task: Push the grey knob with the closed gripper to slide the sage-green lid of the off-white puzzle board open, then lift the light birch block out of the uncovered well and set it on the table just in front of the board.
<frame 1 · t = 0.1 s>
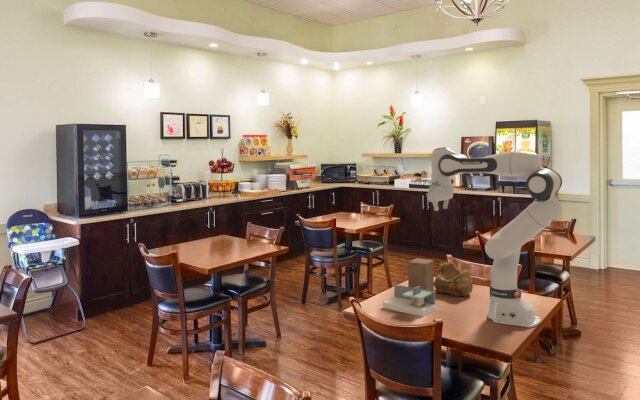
hand: (440, 209, 239), 48 cm above the table, tool pointing down, fingers open, 8 cm apart
wooden block: (421, 299, 256), on the table
slide lid: (417, 291, 235), point 10 cm above the table, slide at 0.0 cm
rough brown rock: (449, 292, 265), on the table
birch block: (417, 310, 237), resting in puzzle board
puzzle board: (408, 308, 240), on the table
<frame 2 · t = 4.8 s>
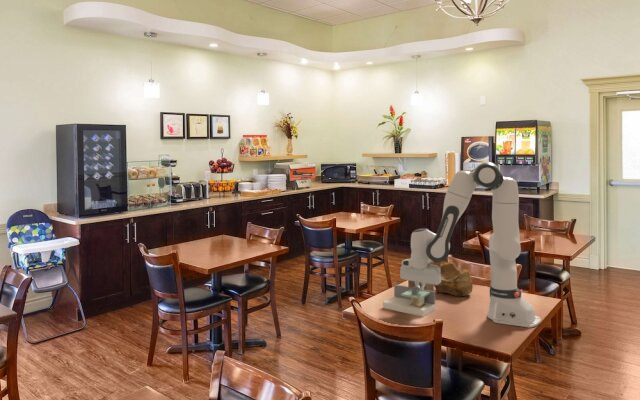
hand: (420, 290, 235), 10 cm above the table, tool pointing down, fingers closed
slide lid: (415, 290, 236), point 10 cm above the table, slide at 0.8 cm, touching gripper
everything else where it was.
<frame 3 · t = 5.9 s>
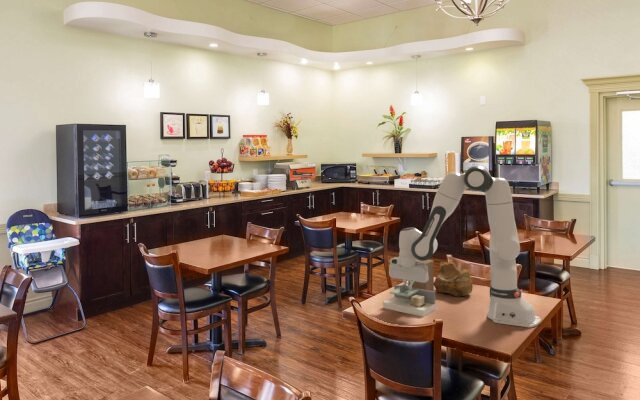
hand: (408, 288, 239), 10 cm above the table, tool pointing down, fingers closed
slide lid: (404, 288, 240), point 10 cm above the table, slide at 7.1 cm, touching gripper
everything else where it was.
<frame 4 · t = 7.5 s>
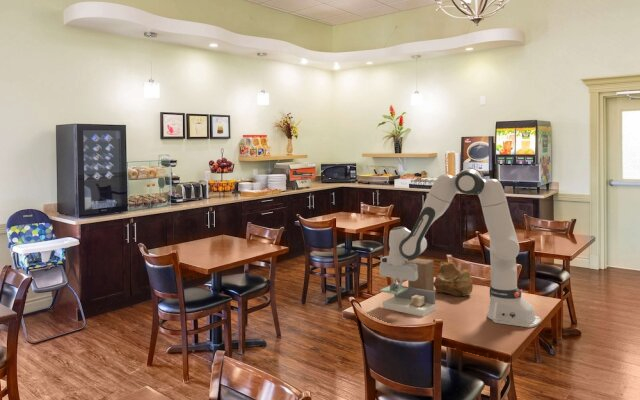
hand: (398, 287, 242), 10 cm above the table, tool pointing down, fingers closed
slide lid: (393, 286, 243), point 10 cm above the table, slide at 12.8 cm, touching gripper
everything else where it was.
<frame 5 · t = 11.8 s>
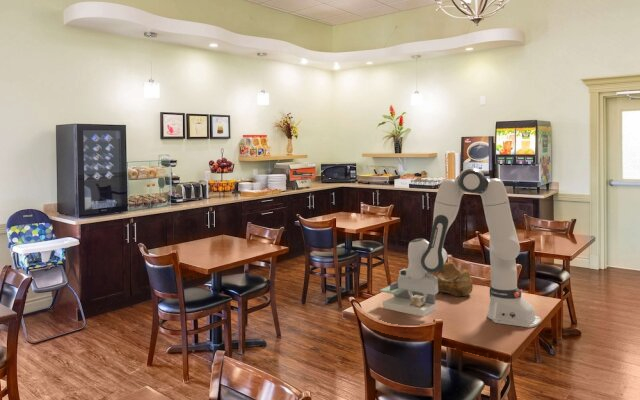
hand: (417, 300, 236), 5 cm above the table, tool pointing down, fingers closed on birch block, 4 cm apart
slide lid: (393, 286, 243), point 10 cm above the table, slide at 12.8 cm
birch block: (417, 310, 237), resting in puzzle board, touching gripper
everything else where it was.
when the fingers open (7 cm above the table, at t = 18.2 s): birch block drops 2 cm, on the table.
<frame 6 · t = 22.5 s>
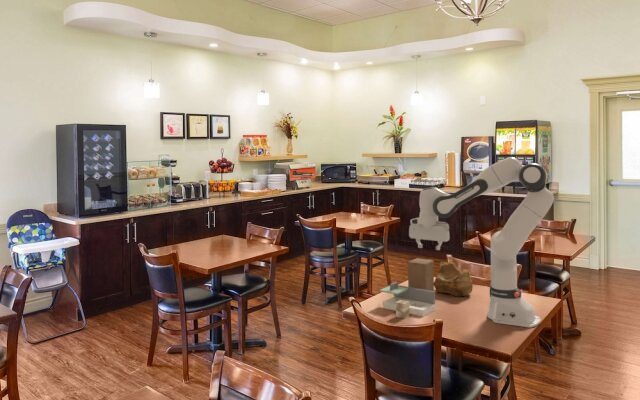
hand: (429, 248, 238), 29 cm above the table, tool pointing down, fingers open, 8 cm apart
birch block: (402, 316, 230), on the table
everything else where it was.
at the end: slide lid slide at 12.8 cm; birch block inside the target area (0.1 cm from its centre), on the table; birch block tilted 0° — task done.
